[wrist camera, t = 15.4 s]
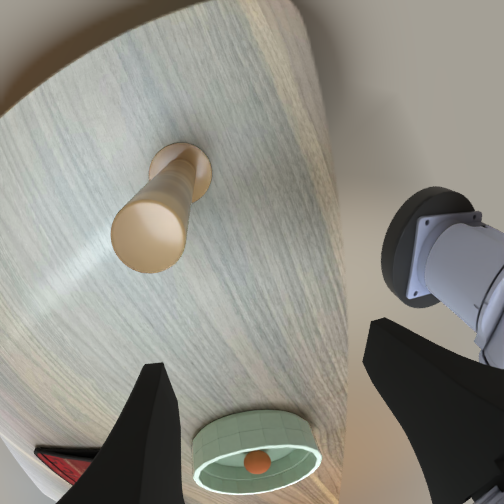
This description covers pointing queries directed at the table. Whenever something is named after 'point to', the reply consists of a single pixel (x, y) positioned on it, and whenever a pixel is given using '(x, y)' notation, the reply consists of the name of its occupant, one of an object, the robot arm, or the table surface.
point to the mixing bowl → (250, 439)
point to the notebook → (67, 462)
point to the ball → (257, 462)
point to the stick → (161, 209)
